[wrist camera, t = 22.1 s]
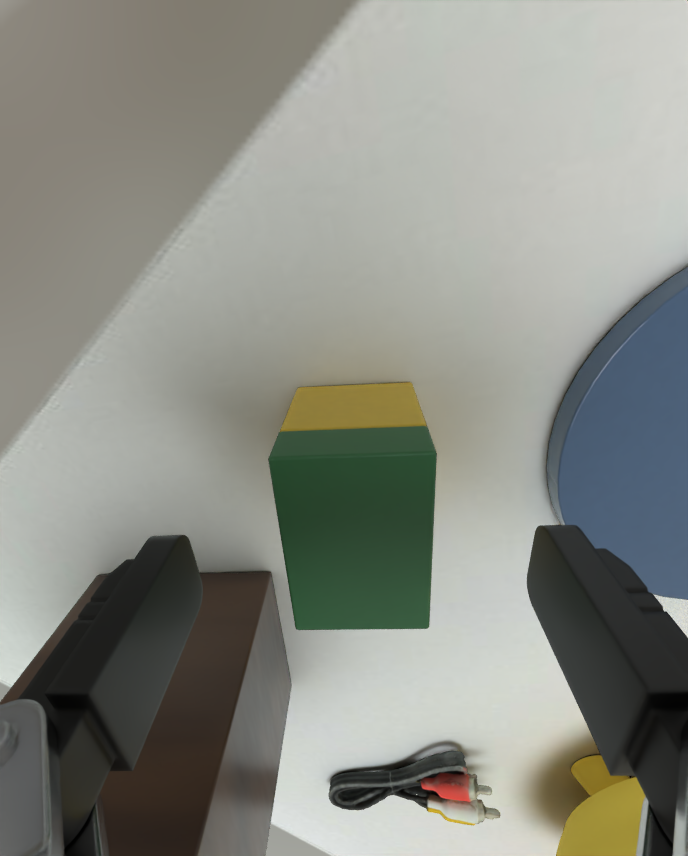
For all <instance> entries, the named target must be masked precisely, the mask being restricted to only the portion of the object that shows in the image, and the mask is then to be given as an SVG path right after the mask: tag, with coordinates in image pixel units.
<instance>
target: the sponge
mask: <svg viewBox="0 0 688 856" xmlns="http://www.w3.org/2000/svg"><path fill="white" fill-rule="evenodd" d="M436 457H437V453H436V450H435V447H434V444H433V442H432V439H431V436H430V433H429V430H428V428H427V425H426V422H425V419H424V416H423V413H422V410H421V408H420V405H419V402H418V399H417V396H416V393H415V390H414V387H413V385H412V383H410V382H406V383H384V384H362V385H340V386H318V387H299V388H297V390H296V393H295V395H294V398H293V400H292V402H291V405H290V407H289V410H288V412H287V415H286V417H285V420H284V422H283V425H282V427H281V429H280V432H279V434H278V436H277V439H276V441H275V444H274V446H273V448H272V451H271V453H270V456H269V459H268V461H269V467H270V473H271V479H272V485H273V492H274V498H275V504H276V510H277V516H278V522H279V528H280V535H281V541H282V547H283V553H284V559H285V565H286V572H287V578H288V584H289V590H290V596H291V602H292V608H293V615H294V621H295V627H296V629H297V630H341V629H427V628H429V619H430V596H431V573H432V550H433V526H434V503H435V480H436Z"/></svg>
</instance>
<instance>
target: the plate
mask: <svg viewBox="0 0 688 856" xmlns="http://www.w3.org/2000/svg"><path fill="white" fill-rule="evenodd" d="M547 478H548V488H549V492H550V497H551V501H552V505H553V507H554V510H555V512H556V514H557V517H558V519H559V521H560V523H561V524H562V525H576V526H578V527H579V528H580V529H581V530H582V531H583V533H584V534H585V535H586V537H587V538H588V539H589V541H590V542H591V543H592V545H593V546H594V548H595V549H598V548H606V549H607V550H609V551H610V552H611V553H613V554H614V555H615V556H617V557H618V558H620V559H621V560H622V561H624V562H625V563H626V564H628V565H629V566H630V567H631V568H632V569H633V570H634V572H635V573H636V574H637V575H638V577H639V578H640V579H641V580H642V581H643V583H644V584H645V585H646V586H647V588H648V592H649V593H652V594H654V595H658V596H663V597H669V598H677V599H684V600H688V267H687V268H685V269H684V270H682V271H680V272H679V273H677V274H675V275H674V276H672V277H671V278H670V279H668V280H667V281H666V282H664V283H663V284H662V285H660V286H659V287H658V288H656V289H655V290H654V291H653V292H651V293H650V294H649V295H647V296H646V297H645V298H643V299H642V300H641V301H640V302H639V303H638V304H637V305H636V306H635V307H634V308H633V309H631V310H630V311H629V312H628V313H627V314H626V315H625V316H624V317H623V318H622V319H621V320H620V321H618V322H617V324H616V325H615V326H614V327H613V328H612V329H611V330H610V331H609V333H608V334H607V335H606V336H605V337H604V338H603V339H602V341H601V342H600V343H599V344H598V345H597V346H596V347H595V349H594V350H593V352H592V353H591V354H590V356H589V357H588V359H587V360H586V362H585V363H584V364H583V366H582V367H581V369H580V370H579V371H578V373H577V375H576V377H575V378H574V380H573V382H572V384H571V386H570V387H569V389H568V391H567V393H566V395H565V397H564V399H563V402H562V404H561V406H560V409H559V411H558V414H557V416H556V419H555V422H554V426H553V430H552V434H551V438H550V441H549V449H548V458H547Z"/></svg>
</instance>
